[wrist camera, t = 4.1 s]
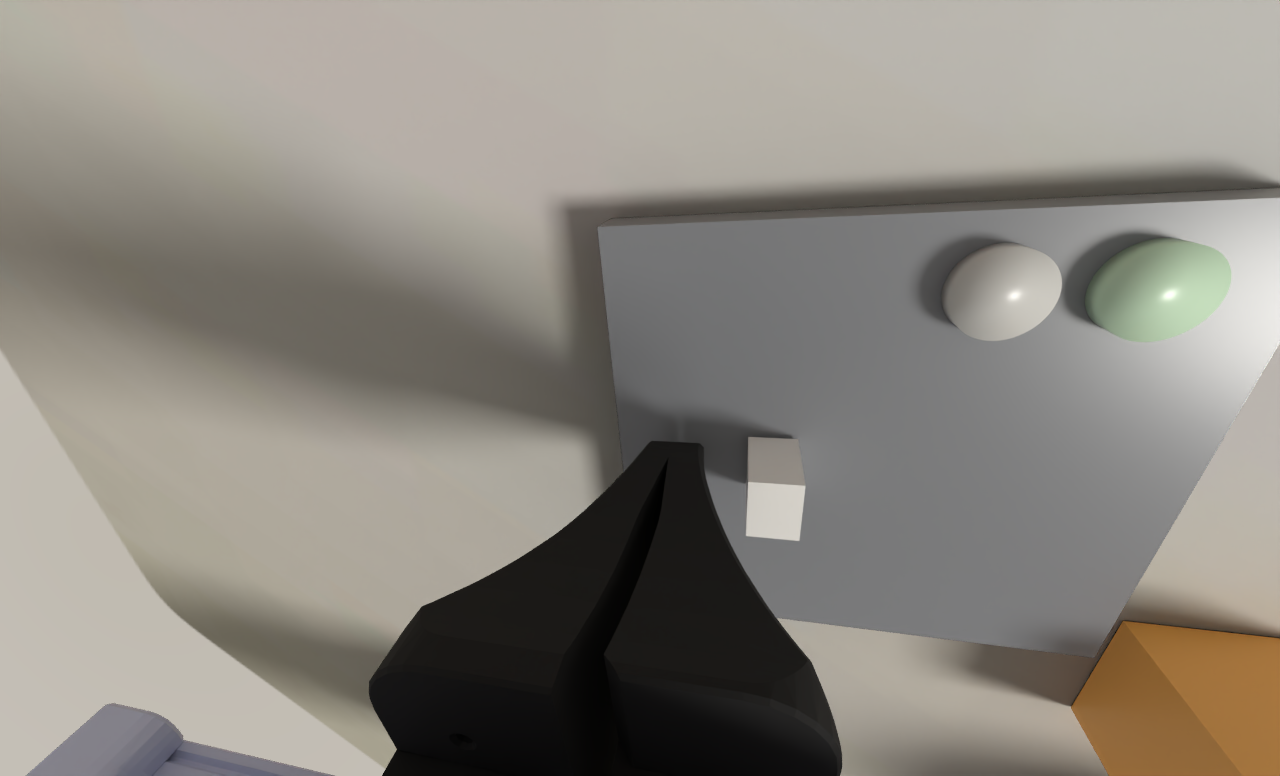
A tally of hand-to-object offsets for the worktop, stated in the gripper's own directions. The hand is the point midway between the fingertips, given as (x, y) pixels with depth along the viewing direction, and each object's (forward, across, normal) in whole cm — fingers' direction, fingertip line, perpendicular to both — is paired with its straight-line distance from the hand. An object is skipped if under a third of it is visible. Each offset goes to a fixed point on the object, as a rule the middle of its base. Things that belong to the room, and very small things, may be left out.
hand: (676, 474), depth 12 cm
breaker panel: (+2, -5, 0) cm, 5 cm away
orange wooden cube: (+2, -15, +8) cm, 17 cm away
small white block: (+1, -2, 0) cm, 2 cm away
